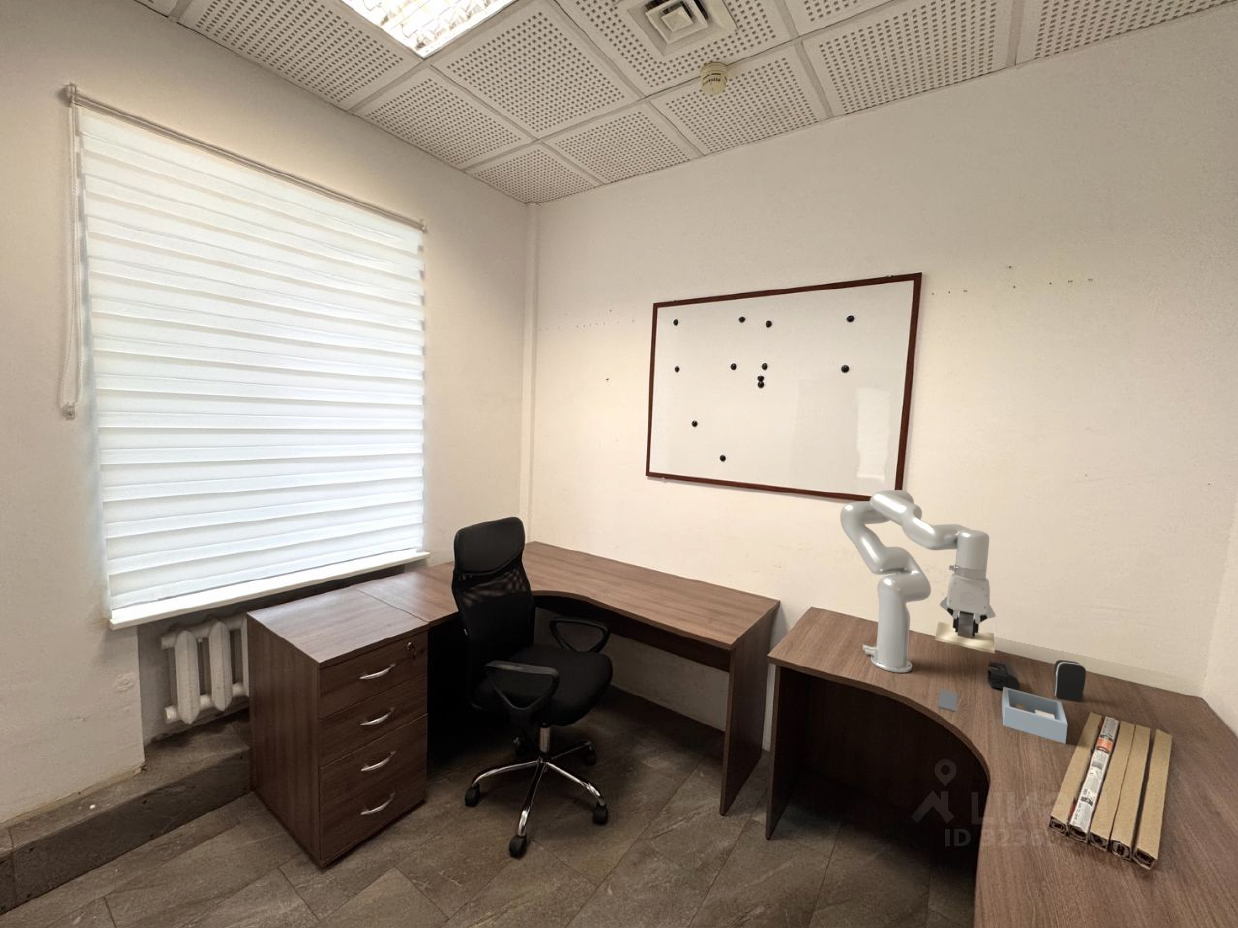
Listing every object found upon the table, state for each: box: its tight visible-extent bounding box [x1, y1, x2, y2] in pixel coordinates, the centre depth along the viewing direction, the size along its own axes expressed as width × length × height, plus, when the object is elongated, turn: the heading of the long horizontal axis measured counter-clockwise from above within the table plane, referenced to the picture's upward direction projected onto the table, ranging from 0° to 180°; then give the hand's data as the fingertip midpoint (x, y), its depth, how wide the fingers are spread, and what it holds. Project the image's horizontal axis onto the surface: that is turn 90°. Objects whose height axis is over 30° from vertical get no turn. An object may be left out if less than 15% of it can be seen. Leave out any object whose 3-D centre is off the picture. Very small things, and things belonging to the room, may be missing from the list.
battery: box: [1053, 659, 1087, 702], centre depth 156 cm, size 7×4×11 cm, turn 73°
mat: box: [937, 687, 958, 713], centre depth 151 cm, size 10×12×1 cm
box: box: [1001, 687, 1068, 745], centre depth 141 cm, size 13×13×6 cm
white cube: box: [1035, 710, 1055, 719], centre depth 138 cm, size 4×4×4 cm
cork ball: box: [1014, 705, 1027, 711], centre depth 145 cm, size 3×3×3 cm
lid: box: [934, 611, 996, 654], centre depth 149 cm, size 14×14×9 cm
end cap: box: [986, 661, 1021, 691], centre depth 161 cm, size 10×7×7 cm
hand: (965, 632), depth 149 cm, fingers closed on lid, 3 cm apart
